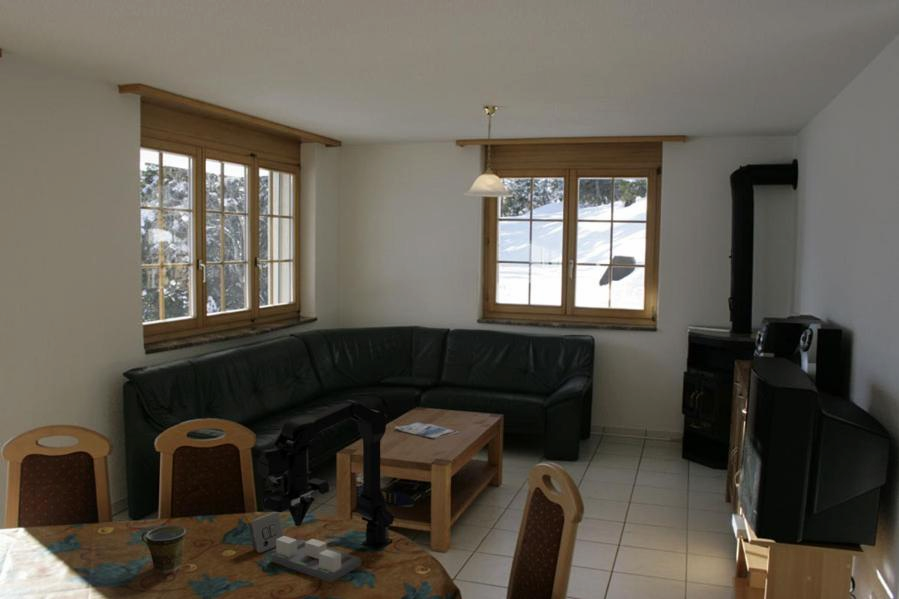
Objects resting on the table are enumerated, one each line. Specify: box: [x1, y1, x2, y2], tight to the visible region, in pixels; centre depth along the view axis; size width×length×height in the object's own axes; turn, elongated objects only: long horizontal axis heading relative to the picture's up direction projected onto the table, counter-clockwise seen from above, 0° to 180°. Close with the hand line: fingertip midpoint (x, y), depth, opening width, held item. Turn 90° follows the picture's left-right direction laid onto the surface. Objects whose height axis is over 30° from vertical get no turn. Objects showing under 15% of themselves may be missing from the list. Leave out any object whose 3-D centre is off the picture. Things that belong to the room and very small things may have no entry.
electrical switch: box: [248, 511, 285, 554], centre depth 219 cm, size 9×5×9 cm, turn 141°
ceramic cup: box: [141, 525, 187, 575], centre depth 205 cm, size 13×10×10 cm
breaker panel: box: [270, 535, 362, 583], centre depth 208 cm, size 12×22×6 cm, turn 56°
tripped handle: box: [305, 538, 327, 559], centre depth 208 cm, size 3×5×4 cm, turn 56°
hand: (298, 525), depth 202 cm, fingers closed
